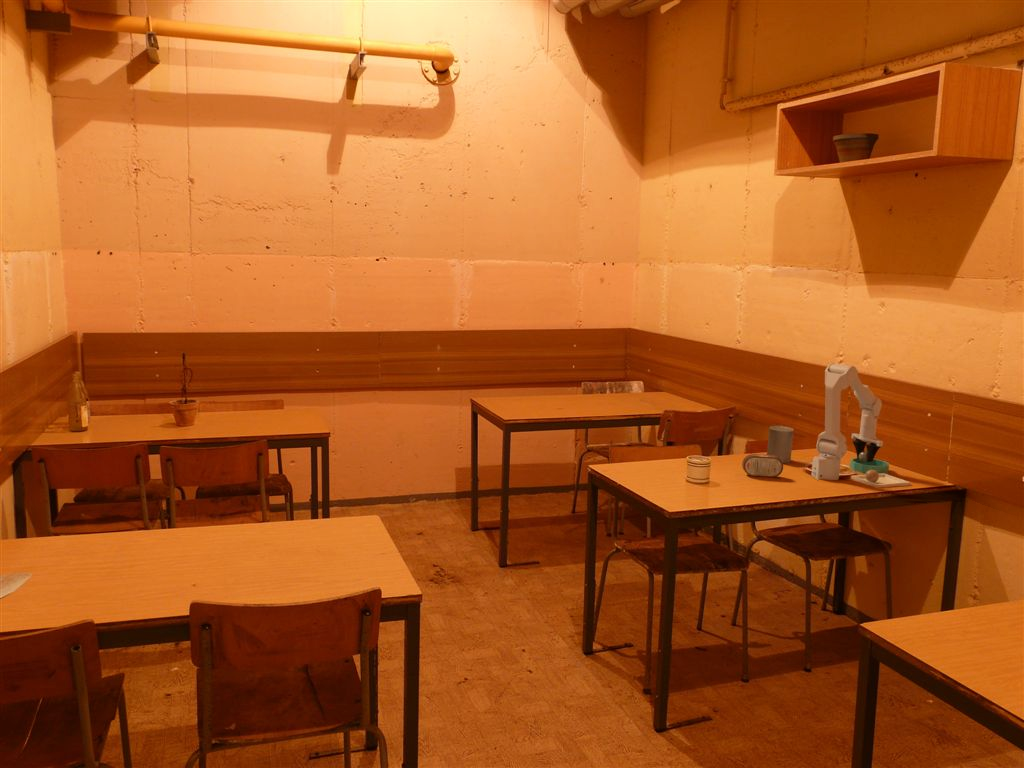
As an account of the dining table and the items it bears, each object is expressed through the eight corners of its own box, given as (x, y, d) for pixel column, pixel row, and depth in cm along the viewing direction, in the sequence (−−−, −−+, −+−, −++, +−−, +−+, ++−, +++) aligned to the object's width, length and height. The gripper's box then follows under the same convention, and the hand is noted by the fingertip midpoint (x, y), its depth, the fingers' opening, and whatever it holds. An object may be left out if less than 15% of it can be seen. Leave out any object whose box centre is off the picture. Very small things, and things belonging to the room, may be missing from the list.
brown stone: (868, 483, 306) (869, 471, 306) (862, 480, 311) (863, 468, 310) (880, 484, 307) (882, 471, 306) (874, 480, 311) (875, 468, 311)
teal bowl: (859, 476, 321) (860, 466, 320) (843, 466, 335) (844, 457, 334) (894, 476, 321) (895, 466, 321) (877, 467, 335) (878, 458, 335)
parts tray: (876, 489, 302) (877, 485, 301) (850, 480, 314) (851, 475, 313) (910, 487, 307) (910, 482, 307) (883, 477, 319) (884, 473, 319)
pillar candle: (762, 457, 345) (765, 422, 343) (783, 457, 347) (786, 422, 345) (773, 463, 336) (776, 427, 333) (795, 463, 338) (798, 427, 335)
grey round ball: (861, 464, 324) (862, 452, 323) (856, 461, 329) (856, 450, 328) (873, 464, 324) (874, 452, 324) (867, 461, 329) (868, 450, 328)
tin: (781, 476, 316) (783, 455, 315) (783, 478, 313) (785, 457, 311) (741, 474, 317) (742, 452, 316) (742, 476, 314) (744, 454, 313)
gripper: (890, 429, 319) (886, 464, 321) (862, 422, 332) (859, 455, 334) (876, 430, 316) (872, 465, 319) (848, 423, 330) (845, 456, 332)
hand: (864, 460), depth 326 cm, fingers closed on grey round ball, 5 cm apart
